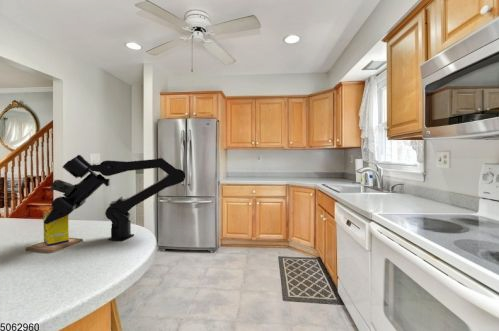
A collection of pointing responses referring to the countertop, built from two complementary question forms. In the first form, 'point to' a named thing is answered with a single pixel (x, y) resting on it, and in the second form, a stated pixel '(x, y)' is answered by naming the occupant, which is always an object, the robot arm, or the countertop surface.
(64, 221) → the supplement box
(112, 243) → the countertop surface
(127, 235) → the robot arm
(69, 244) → the marked board
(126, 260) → the countertop surface
